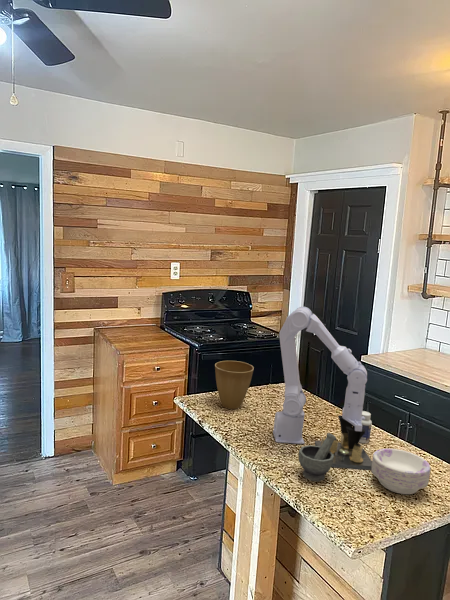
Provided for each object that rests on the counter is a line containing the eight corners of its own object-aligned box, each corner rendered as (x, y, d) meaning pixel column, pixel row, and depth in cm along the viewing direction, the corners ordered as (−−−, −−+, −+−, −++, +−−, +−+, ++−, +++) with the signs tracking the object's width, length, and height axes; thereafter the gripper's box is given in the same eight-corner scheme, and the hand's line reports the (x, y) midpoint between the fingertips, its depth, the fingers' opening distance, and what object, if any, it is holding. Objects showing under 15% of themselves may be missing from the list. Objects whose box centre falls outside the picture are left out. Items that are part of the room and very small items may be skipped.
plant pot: (214, 396, 189) (218, 358, 187) (251, 401, 187) (255, 363, 185) (208, 410, 175) (212, 368, 172) (247, 415, 173) (252, 373, 171)
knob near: (361, 464, 139) (363, 451, 139) (348, 461, 141) (350, 447, 140) (363, 458, 143) (365, 445, 143) (350, 455, 145) (352, 442, 144)
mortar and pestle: (311, 487, 126) (316, 445, 125) (289, 471, 134) (294, 431, 132) (341, 479, 132) (347, 439, 130) (319, 464, 140) (323, 426, 138)
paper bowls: (376, 466, 142) (379, 442, 141) (430, 484, 134) (434, 458, 133) (363, 487, 129) (367, 460, 128) (422, 508, 121) (426, 479, 120)
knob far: (342, 449, 149) (344, 436, 148) (339, 443, 152) (341, 431, 152) (356, 450, 149) (358, 437, 148) (352, 444, 153) (354, 432, 152)
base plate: (325, 466, 139) (326, 459, 138) (314, 444, 154) (315, 437, 153) (375, 470, 139) (376, 463, 139) (359, 447, 154) (360, 440, 154)
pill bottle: (370, 444, 157) (373, 417, 156) (353, 442, 158) (357, 414, 157) (368, 438, 162) (372, 411, 161) (352, 435, 163) (356, 409, 162)
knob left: (322, 454, 144) (324, 441, 143) (319, 448, 148) (321, 435, 147) (337, 455, 144) (338, 442, 144) (333, 449, 148) (335, 436, 148)
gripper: (374, 412, 142) (368, 454, 143) (359, 396, 156) (353, 434, 158) (351, 410, 141) (345, 453, 143) (338, 394, 156) (333, 433, 157)
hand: (348, 443), depth 150 cm, fingers open, 7 cm apart
